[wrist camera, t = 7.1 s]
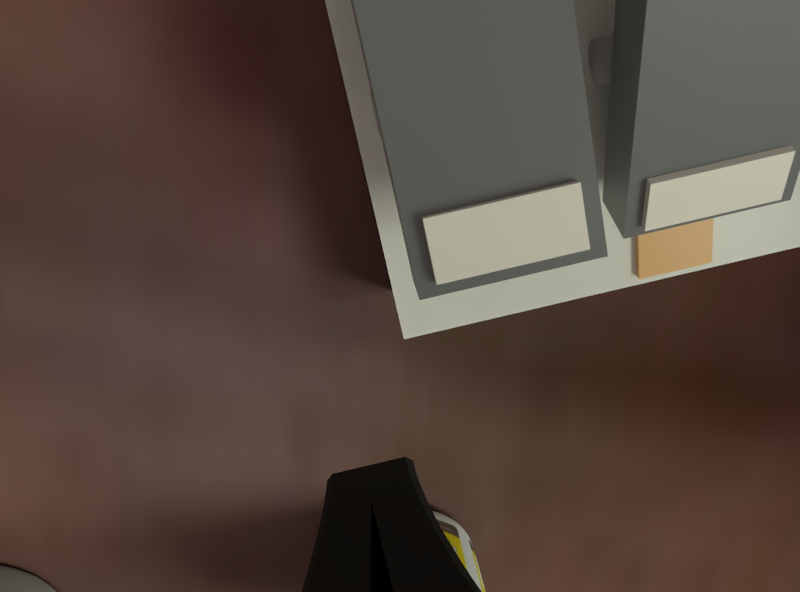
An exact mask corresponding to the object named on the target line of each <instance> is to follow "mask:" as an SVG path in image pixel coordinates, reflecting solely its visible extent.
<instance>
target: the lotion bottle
mask: <svg viewBox="0 0 800 592" xmlns="http://www.w3.org/2000/svg"><path fill="white" fill-rule="evenodd" d="M0 592H56V591H55V589H53V588H52V587H51V586H50V585H49V584H47V583H46V582H45V581H43V580H41V579H40V578H38V577H36V576H34V575H32V574H29V573H27V572H24V571H21V570H18V569H15V568H11V567H6V566H0Z"/></svg>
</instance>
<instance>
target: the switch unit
mask: <svg viewBox="0 0 800 592" xmlns="http://www.w3.org/2000/svg"><path fill="white" fill-rule="evenodd" d="M573 2H574V9H575V17H576V24H577V32H578V39H579V46H580V54H581V61H582V68H583V76H584V83H585V91H586V98H587V105H588V113H589V120H590V127H591V135H592V142H593V149H594V157H595V164H596V172H597V179H598V186H599V194H600V201H601V208H602V216H603V223H604V230H605V238H606V245H607V253H608V256H607V257H603V258H598V259H594V260H590V261H586V262H581V263H577V264H573V265H568V266H564V267H560V268H556V269H551V270H547V271H543V272H538V273H534V274H530V275H526V276H521V277H517V278H513V279H508V280H504V281H500V282H496V283H491V284H487V285H483V286H478V287H474V288H470V289H466V290H461V291H457V292H453V293H448V294H444V295H440V296H436V297H431V298H427V299H423V300H419V297H418V294H417V291H416V288H415V285H414V282H413V278H412V273H411V269H410V264H409V260H408V255H407V251H406V246H405V242H404V237H403V233H402V228H401V224H400V220H399V215H398V211H397V206H396V202H395V197H394V193H393V188H392V184H391V179H390V175H389V170H388V166H387V161H386V157H385V152H384V148H383V143H382V139H381V134H380V130H379V125H378V121H377V117H376V112H375V108H374V103H373V99H372V94H371V90H370V85H369V81H368V76H367V72H366V67H365V63H364V58H363V54H362V49H361V45H360V40H359V36H358V31H357V27H356V22H355V18H354V14H353V9H352V5H351V0H325V3H326V8H327V12H328V16H329V21H330V25H331V29H332V33H333V38H334V42H335V46H336V51H337V55H338V59H339V63H340V68H341V72H342V76H343V81H344V85H345V89H346V93H347V98H348V102H349V106H350V111H351V115H352V119H353V123H354V128H355V132H356V136H357V140H358V145H359V149H360V153H361V158H362V162H363V166H364V170H365V175H366V179H367V183H368V188H369V192H370V196H371V200H372V205H373V209H374V213H375V218H376V222H377V226H378V230H379V235H380V239H381V243H382V248H383V252H384V256H385V260H386V265H387V269H388V273H389V278H390V282H391V286H392V290H393V295H394V299H395V303H396V308H397V312H398V316H399V320H400V325H401V329H402V333H403V338H404V339H407V338H412V337H416V336H420V335H425V334H429V333H433V332H437V331H442V330H446V329H450V328H455V327H459V326H463V325H467V324H472V323H476V322H480V321H484V320H489V319H493V318H497V317H502V316H506V315H510V314H514V313H519V312H523V311H527V310H531V309H536V308H540V307H544V306H549V305H553V304H557V303H561V302H566V301H570V300H574V299H579V298H583V297H587V296H591V295H596V294H600V293H604V292H608V291H613V290H617V289H621V288H626V287H630V286H634V285H638V284H643V283H647V282H651V281H655V280H660V279H664V278H668V277H673V276H677V275H681V274H685V273H690V272H694V271H698V270H703V269H707V268H711V267H715V266H720V265H724V264H728V263H732V262H737V261H741V260H745V259H750V258H754V257H758V256H762V255H767V254H771V253H775V252H779V251H784V250H788V249H792V248H797V247H800V171H799V174H798V177H797V181H796V184H795V187H794V190H793V194H792V197H791V200H788V201H784V202H780V203H775V204H771V205H767V206H763V207H758V208H754V209H750V210H745V211H741V212H737V213H733V214H728V215H724V216H720V217H715V218H711V219H707V220H703V221H698V222H694V223H690V224H685V225H681V226H677V227H673V228H668V229H664V230H660V231H655V232H651V233H647V234H643V235H638V236H634V237H630V238H625V239H623V237H622V235H621V233H620V232H619V230H618V228H617V226H616V224H615V223H614V221H613V219H612V217H611V215H610V214H609V212H608V210H607V208H606V206H605V205H604V203H603V201H602V198H603V183H604V168H605V153H606V138H607V123H608V108H609V93H610V78H611V63H612V48H613V33H614V17H615V2H616V0H573Z"/></svg>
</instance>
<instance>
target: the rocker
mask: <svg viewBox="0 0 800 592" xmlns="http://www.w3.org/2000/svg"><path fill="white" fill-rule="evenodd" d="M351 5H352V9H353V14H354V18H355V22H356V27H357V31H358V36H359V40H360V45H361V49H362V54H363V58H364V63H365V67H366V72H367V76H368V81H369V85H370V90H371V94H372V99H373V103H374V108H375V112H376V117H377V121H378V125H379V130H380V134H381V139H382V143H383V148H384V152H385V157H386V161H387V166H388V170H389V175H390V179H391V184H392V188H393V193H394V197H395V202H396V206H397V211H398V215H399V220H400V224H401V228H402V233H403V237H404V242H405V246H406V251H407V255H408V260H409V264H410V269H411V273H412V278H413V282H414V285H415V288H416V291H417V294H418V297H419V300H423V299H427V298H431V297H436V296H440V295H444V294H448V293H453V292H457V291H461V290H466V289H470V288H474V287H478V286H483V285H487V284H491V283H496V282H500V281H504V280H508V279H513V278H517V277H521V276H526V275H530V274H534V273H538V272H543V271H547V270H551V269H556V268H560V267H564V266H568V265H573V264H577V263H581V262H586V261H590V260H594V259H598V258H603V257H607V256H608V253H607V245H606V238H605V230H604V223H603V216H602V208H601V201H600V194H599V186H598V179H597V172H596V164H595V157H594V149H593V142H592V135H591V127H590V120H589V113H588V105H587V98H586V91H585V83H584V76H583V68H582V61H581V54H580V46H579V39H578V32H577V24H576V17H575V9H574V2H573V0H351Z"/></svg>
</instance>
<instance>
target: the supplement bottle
mask: <svg viewBox="0 0 800 592" xmlns="http://www.w3.org/2000/svg"><path fill="white" fill-rule="evenodd" d="M433 513H434V515H435V517H436V519H437V521H438V523H439V525H440V527H441V528H442V530H443V532H444V534H445V535H446V537H447V539H448V540H449V542H450V544H451V545H452V547H453V549H454V550H455V552H456V554H457V555H458V557H459V558H460V560H461V562H462V563H463V565H464V566H465V568H466V569H467V571H468V573H469V574H470V576H471V577H472V579H473V580H474V581H475V583H476V584H477V586H478V587H479V589H480V590H481V591H482V592H485V587H484V584H483V580H482V577H481V573H480V570H479V566H478V562H477V558H476V555H475V552H474V548H473V545H472V543H471V540H470V538H469V536H468V535H467V533H466V532H465V530H464V529H463V528H462V527H461V526H460V525H459V524H458V523H457V522H455V521H454V520H452V519H451V518H449V517H447V516H445V515H443V514H441V513H438V512H435V511H433Z"/></svg>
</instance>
